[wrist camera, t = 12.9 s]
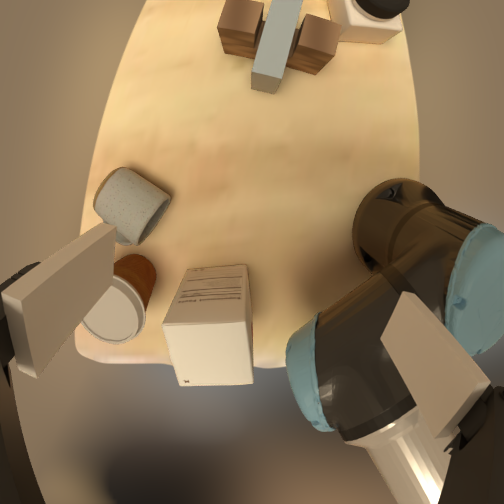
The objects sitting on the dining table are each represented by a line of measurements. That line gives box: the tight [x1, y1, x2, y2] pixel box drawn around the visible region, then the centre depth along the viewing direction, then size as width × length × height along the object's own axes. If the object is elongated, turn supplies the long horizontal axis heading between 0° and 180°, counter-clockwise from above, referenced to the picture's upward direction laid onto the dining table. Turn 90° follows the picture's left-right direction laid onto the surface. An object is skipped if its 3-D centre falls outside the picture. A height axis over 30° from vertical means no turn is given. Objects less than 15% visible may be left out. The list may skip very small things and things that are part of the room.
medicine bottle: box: [327, 0, 410, 44], centre depth 26 cm, size 7×7×12 cm
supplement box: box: [162, 264, 254, 386], centre depth 38 cm, size 9×9×15 cm
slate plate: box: [251, 0, 303, 94], centre depth 29 cm, size 3×12×10 cm, turn 167°
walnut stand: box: [217, 0, 342, 75], centre depth 29 cm, size 12×4×10 cm, turn 76°
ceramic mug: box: [93, 167, 171, 246], centre depth 37 cm, size 11×8×8 cm
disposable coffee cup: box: [81, 254, 156, 344], centre depth 38 cm, size 10×10×12 cm
